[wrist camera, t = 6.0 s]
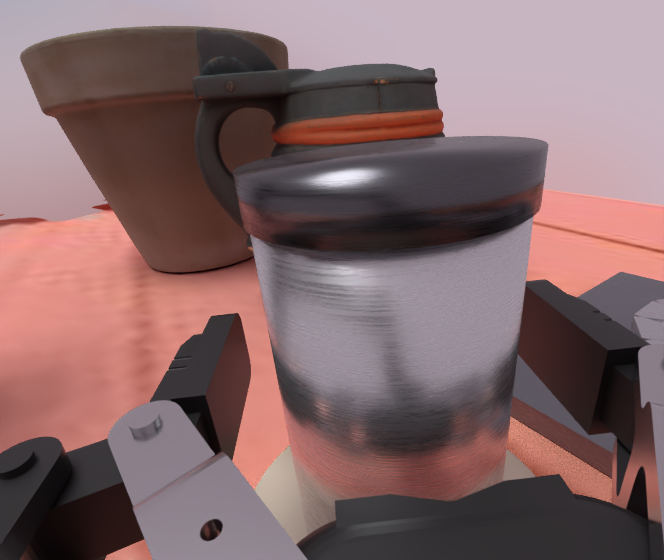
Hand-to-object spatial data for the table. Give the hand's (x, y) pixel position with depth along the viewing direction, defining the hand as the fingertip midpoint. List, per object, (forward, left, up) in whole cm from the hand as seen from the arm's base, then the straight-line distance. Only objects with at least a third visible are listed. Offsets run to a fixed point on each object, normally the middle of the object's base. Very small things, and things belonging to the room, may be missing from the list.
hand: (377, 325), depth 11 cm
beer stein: (+10, +17, -9) cm, 22 cm away
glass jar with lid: (-1, -2, -6) cm, 6 cm away
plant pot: (+5, +39, -9) cm, 41 cm away
